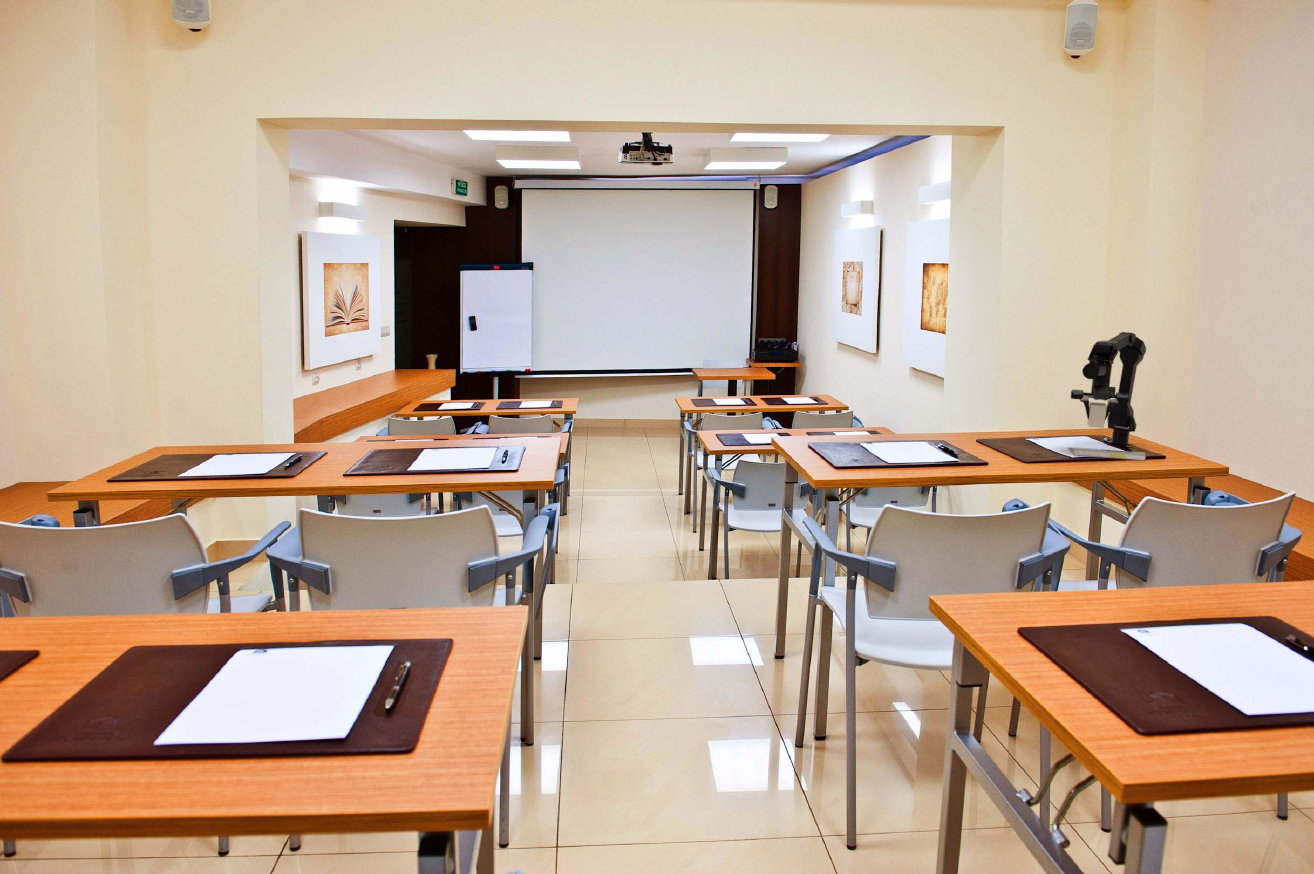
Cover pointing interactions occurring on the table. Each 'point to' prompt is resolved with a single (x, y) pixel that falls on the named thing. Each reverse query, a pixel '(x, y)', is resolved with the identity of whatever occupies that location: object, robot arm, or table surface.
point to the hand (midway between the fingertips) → (1096, 419)
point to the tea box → (1097, 414)
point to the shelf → (1108, 453)
